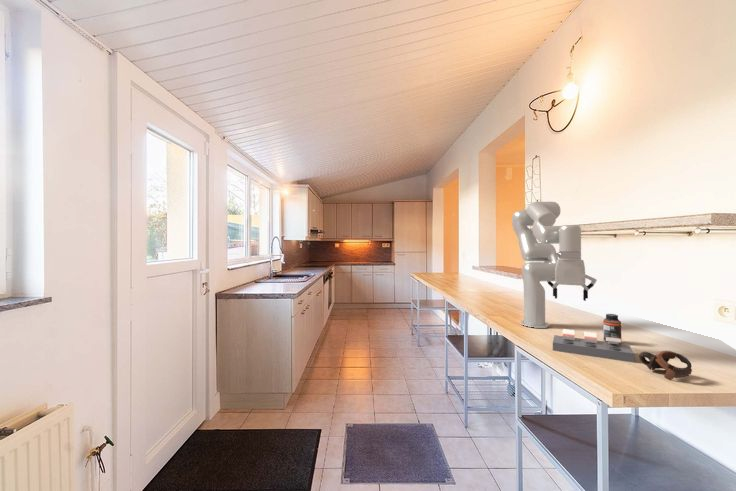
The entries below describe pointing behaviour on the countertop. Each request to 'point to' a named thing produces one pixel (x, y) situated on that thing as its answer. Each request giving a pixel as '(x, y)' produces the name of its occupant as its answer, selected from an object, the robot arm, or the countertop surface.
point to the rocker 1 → (568, 334)
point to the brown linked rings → (666, 363)
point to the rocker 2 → (613, 340)
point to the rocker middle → (590, 337)
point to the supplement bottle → (611, 327)
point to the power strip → (594, 348)
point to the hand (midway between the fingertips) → (570, 299)
